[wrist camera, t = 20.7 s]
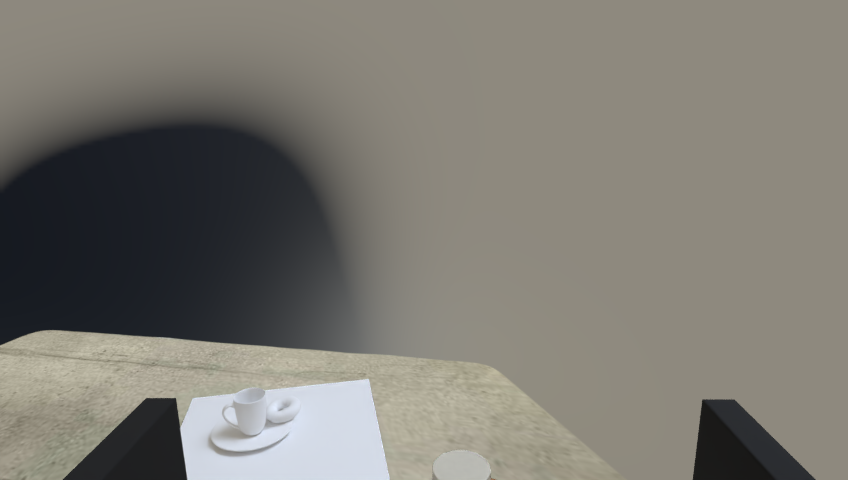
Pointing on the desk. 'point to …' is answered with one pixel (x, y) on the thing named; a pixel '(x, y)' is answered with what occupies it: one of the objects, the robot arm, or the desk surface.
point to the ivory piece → (461, 466)
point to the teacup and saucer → (285, 434)
